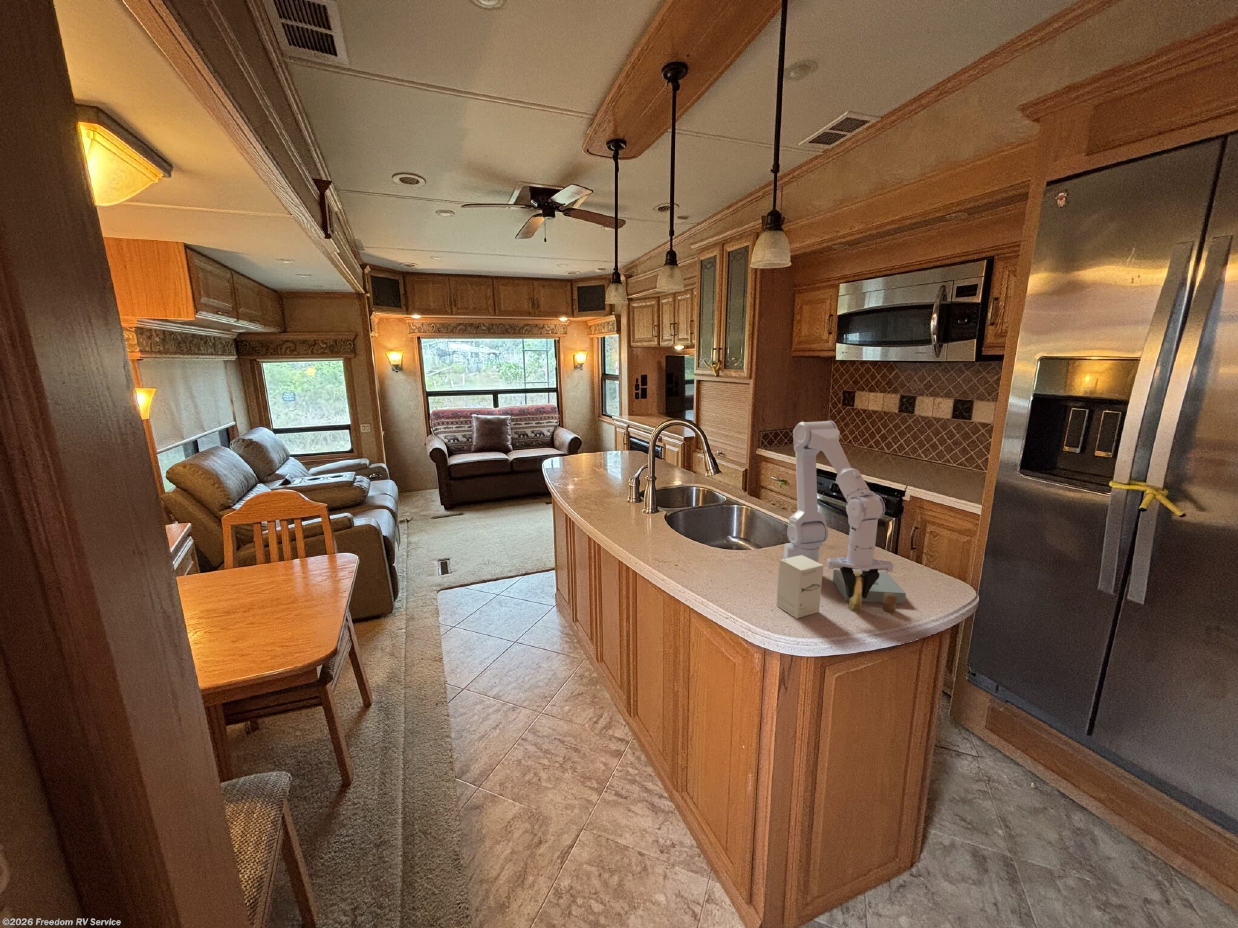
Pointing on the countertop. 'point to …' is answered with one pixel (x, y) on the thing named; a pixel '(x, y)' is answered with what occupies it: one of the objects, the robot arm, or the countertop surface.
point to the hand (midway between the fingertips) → (856, 596)
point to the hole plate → (873, 587)
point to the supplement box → (799, 586)
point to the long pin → (857, 593)
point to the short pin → (889, 602)
